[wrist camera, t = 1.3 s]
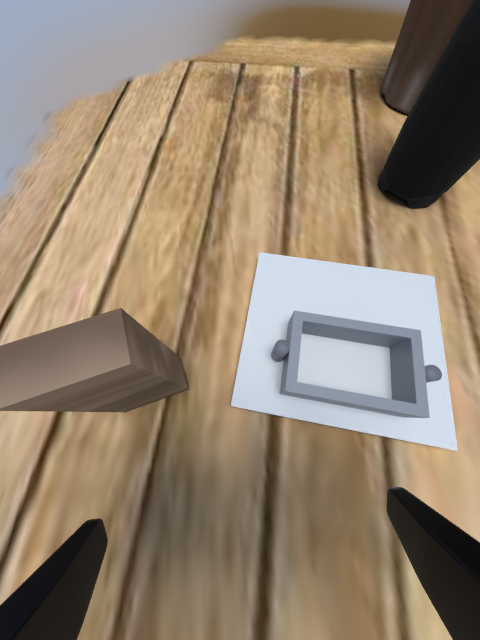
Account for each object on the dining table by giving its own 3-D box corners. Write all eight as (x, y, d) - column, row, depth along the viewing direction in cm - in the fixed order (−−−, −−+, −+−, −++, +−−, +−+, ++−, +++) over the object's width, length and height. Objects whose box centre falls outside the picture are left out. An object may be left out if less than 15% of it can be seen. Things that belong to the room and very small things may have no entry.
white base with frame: (442, 448, 20) (496, 457, 15) (231, 406, 21) (228, 404, 17) (423, 283, 25) (458, 258, 21) (258, 260, 27) (261, 232, 23)
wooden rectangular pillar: (189, 389, 22) (130, 363, 11) (125, 412, 21) (-7, 410, 10) (179, 349, 23) (117, 291, 12) (119, 370, 23) (-4, 328, 12)
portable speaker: (452, 178, 31) (745, -153, 13) (427, 224, 28) (754, -113, 10) (390, 154, 33) (568, -163, 15) (361, 195, 30) (536, -131, 12)
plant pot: (382, 61, 42) (458, -133, 27) (479, 82, 39) (625, -124, 24) (352, 109, 37) (425, -96, 22) (461, 139, 34) (631, -78, 19)
